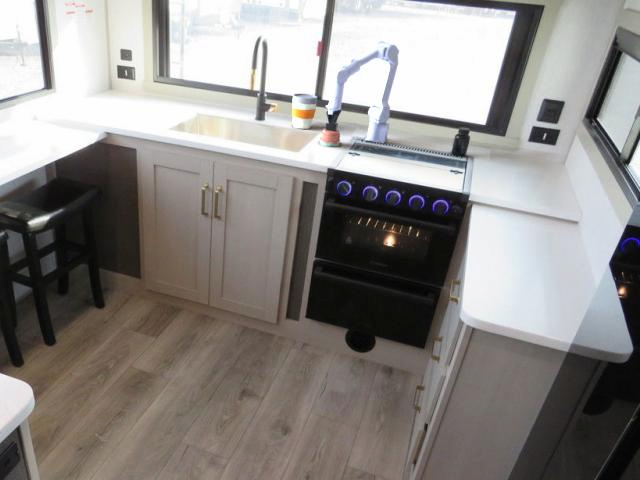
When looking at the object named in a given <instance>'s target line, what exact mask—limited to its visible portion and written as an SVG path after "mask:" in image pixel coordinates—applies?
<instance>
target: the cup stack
mask: <svg viewBox="0 0 640 480" xmlns="http://www.w3.org/2000/svg"><path fill="white" fill-rule="evenodd" d="M340 143H341V133H340V129H337V130H336V131H332V130H326V127H325V128H323V130H322V131H321V136H320V137H319V145H321V146H324V147H329V148H336V147H339V146H340Z"/></svg>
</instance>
